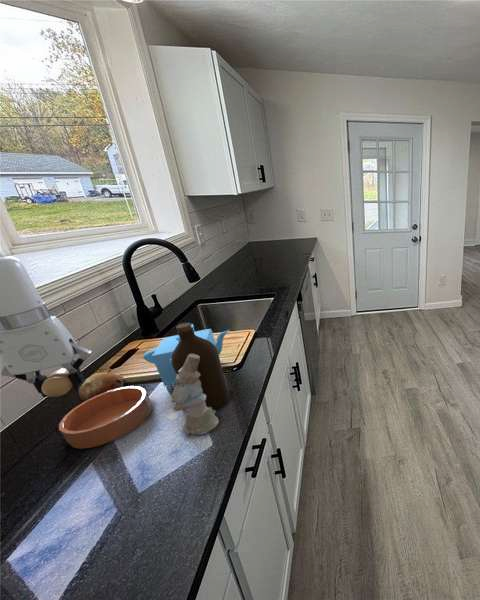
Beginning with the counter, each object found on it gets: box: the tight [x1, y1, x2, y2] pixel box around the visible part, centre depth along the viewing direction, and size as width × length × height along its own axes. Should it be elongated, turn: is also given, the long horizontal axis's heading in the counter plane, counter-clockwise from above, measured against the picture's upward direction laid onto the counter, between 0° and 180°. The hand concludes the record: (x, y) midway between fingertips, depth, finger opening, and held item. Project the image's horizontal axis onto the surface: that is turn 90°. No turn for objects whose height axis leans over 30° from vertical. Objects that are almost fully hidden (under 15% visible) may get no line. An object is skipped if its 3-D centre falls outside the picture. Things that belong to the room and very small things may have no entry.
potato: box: [41, 367, 73, 398], centre depth 70 cm, size 8×5×5 cm, turn 27°
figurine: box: [170, 354, 220, 436], centre depth 78 cm, size 9×8×20 cm
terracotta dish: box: [58, 385, 153, 450], centre depth 84 cm, size 18×18×5 cm
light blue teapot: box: [142, 323, 231, 387], centre depth 101 cm, size 19×19×15 cm
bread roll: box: [78, 372, 126, 402], centre depth 97 cm, size 10×10×8 cm
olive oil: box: [171, 322, 231, 411], centre depth 85 cm, size 11×11×25 cm
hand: (64, 388), depth 71 cm, fingers closed on potato, 4 cm apart
